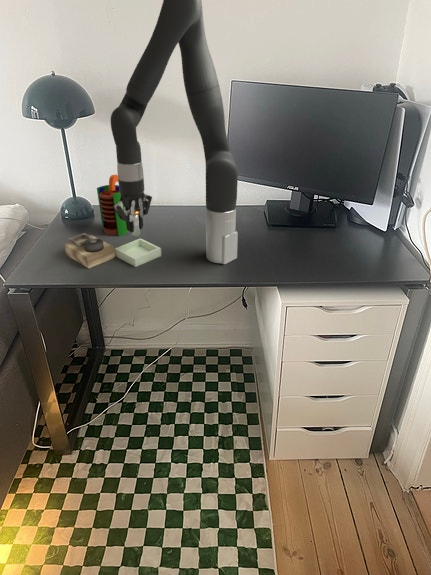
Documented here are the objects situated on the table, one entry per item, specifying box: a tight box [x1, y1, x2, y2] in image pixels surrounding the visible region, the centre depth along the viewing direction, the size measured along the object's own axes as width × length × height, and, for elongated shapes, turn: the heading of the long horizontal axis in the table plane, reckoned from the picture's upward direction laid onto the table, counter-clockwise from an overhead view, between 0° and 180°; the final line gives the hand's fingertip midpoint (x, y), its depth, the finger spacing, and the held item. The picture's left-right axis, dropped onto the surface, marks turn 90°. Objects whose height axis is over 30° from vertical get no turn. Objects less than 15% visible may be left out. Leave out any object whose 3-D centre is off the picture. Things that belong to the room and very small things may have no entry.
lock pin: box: [130, 209, 141, 237], centre depth 142 cm, size 3×3×8 cm
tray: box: [114, 238, 162, 268], centre depth 147 cm, size 11×11×3 cm
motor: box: [96, 174, 129, 237], centre depth 160 cm, size 10×9×20 cm
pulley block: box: [64, 232, 116, 269], centre depth 146 cm, size 14×10×7 cm
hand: (135, 229), depth 143 cm, fingers closed on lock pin, 2 cm apart
